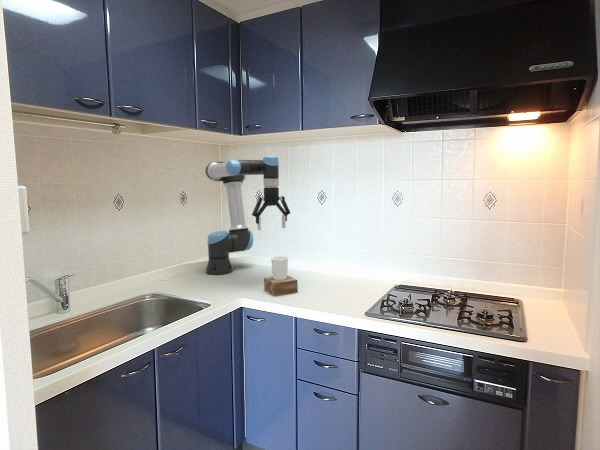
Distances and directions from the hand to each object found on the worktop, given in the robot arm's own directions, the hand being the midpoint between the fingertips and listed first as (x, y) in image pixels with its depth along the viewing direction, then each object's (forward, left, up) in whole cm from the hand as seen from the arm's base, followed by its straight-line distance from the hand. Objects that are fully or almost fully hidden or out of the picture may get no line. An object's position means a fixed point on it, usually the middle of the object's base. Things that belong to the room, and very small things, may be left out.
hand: (271, 229), depth 196 cm
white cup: (+14, -3, -22) cm, 26 cm away
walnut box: (+14, -2, -29) cm, 32 cm away
